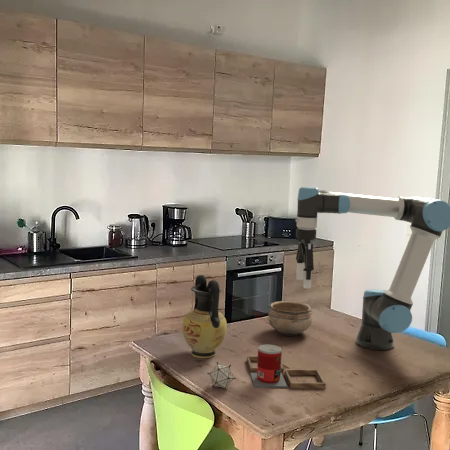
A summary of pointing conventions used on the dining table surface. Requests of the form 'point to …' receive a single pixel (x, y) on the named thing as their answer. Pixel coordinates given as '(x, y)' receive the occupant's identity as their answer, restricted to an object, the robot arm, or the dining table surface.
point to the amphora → (204, 320)
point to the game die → (221, 376)
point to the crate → (255, 358)
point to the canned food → (269, 363)
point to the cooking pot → (290, 317)
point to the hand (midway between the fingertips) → (303, 283)
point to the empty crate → (304, 384)
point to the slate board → (259, 384)
